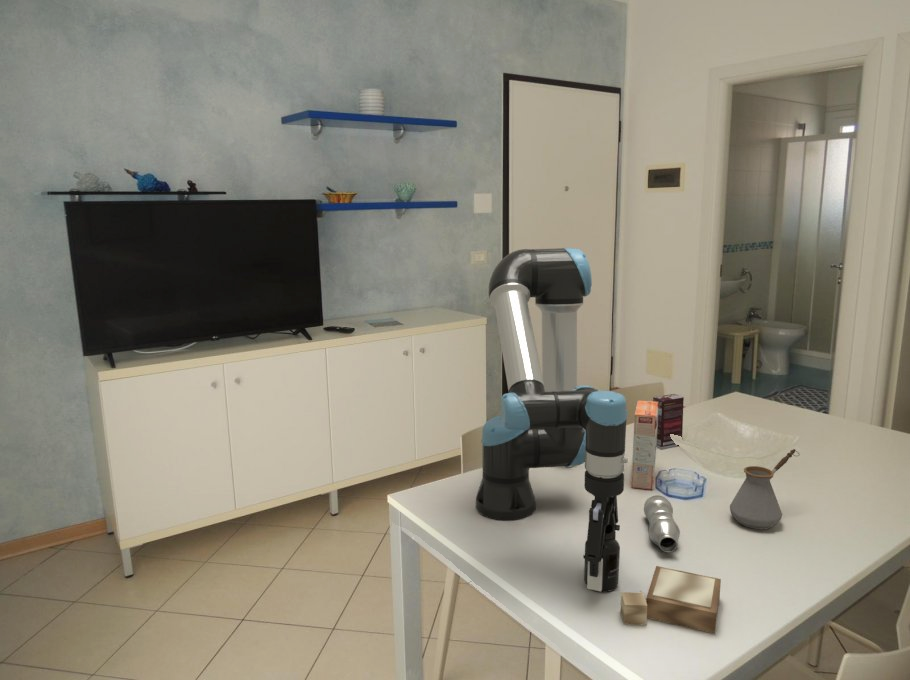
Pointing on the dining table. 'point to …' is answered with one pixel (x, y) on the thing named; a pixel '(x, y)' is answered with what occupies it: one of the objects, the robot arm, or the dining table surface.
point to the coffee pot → (758, 497)
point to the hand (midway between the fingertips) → (601, 573)
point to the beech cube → (633, 608)
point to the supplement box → (669, 419)
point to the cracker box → (644, 444)
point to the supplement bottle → (608, 561)
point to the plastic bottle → (661, 523)
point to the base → (684, 599)
